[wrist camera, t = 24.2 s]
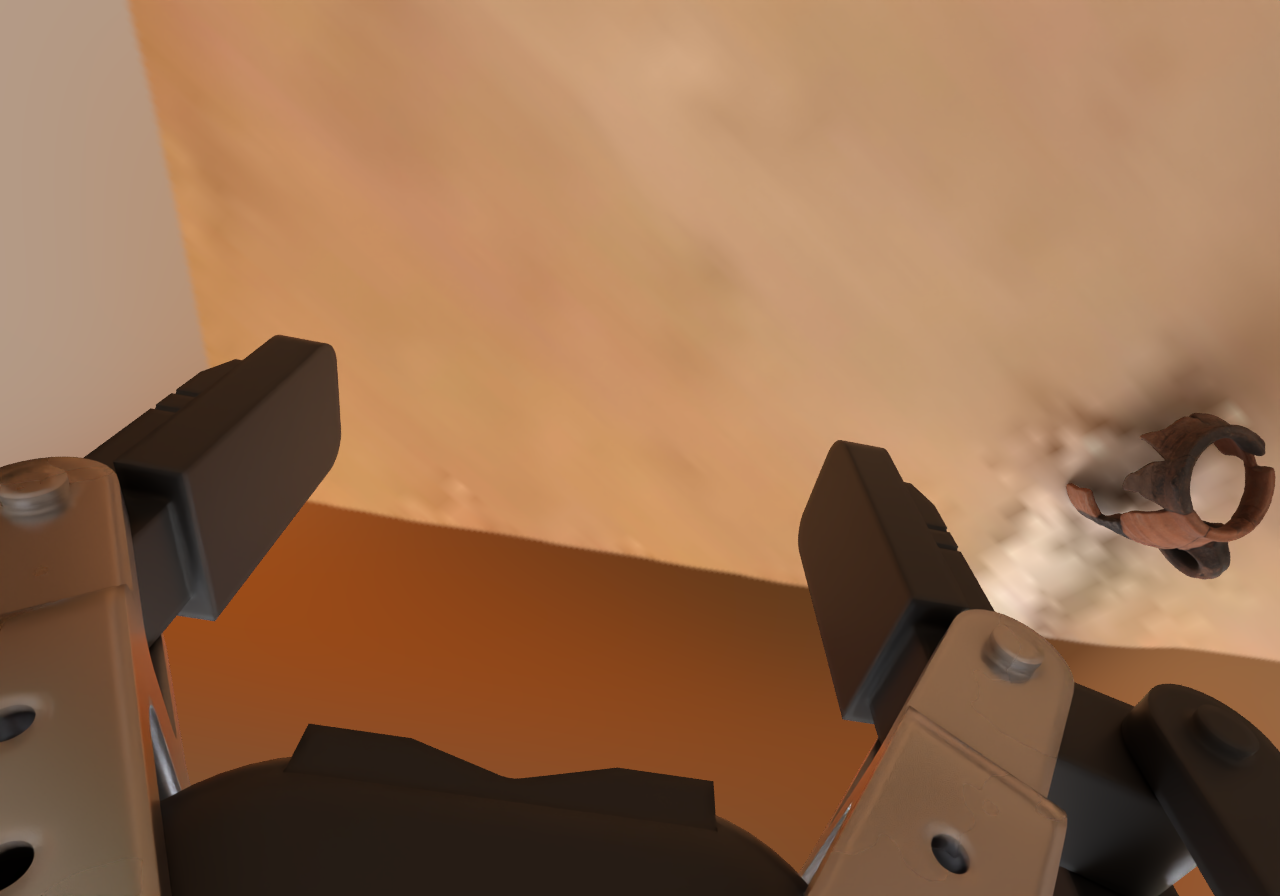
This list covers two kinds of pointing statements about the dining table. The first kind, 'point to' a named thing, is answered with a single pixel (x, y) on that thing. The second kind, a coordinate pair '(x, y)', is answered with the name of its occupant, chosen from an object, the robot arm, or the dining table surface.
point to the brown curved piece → (1188, 496)
